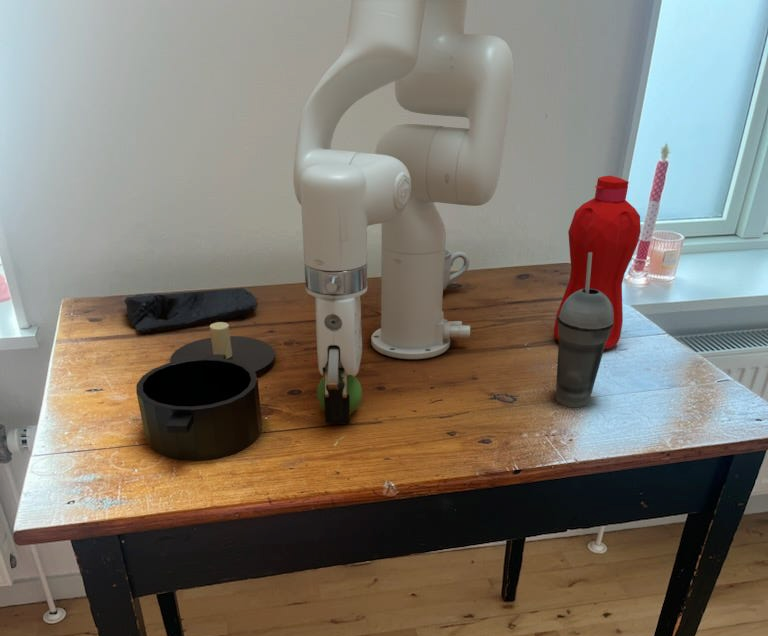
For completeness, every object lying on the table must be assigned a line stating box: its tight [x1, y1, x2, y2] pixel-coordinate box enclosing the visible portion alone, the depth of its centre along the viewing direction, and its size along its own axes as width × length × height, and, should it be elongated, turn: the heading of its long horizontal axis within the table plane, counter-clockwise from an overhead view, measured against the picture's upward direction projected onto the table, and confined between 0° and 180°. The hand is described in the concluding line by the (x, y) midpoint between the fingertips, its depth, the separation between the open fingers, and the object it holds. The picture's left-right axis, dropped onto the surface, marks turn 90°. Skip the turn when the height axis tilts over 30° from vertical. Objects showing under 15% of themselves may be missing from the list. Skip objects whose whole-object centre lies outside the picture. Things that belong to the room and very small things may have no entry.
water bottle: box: [553, 174, 642, 350], centre depth 115 cm, size 9×11×25 cm
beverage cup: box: [555, 252, 614, 408], centre depth 99 cm, size 7×7×20 cm
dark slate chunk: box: [124, 287, 258, 334], centre depth 129 cm, size 15×22×5 cm
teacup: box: [443, 247, 470, 291], centre depth 138 cm, size 14×11×8 cm
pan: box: [135, 354, 263, 462], centre depth 95 cm, size 15×20×7 cm
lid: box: [169, 321, 276, 376], centre depth 112 cm, size 16×16×6 cm
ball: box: [316, 371, 363, 415], centre depth 100 cm, size 6×6×6 cm
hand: (340, 409), depth 101 cm, fingers closed on ball, 5 cm apart
